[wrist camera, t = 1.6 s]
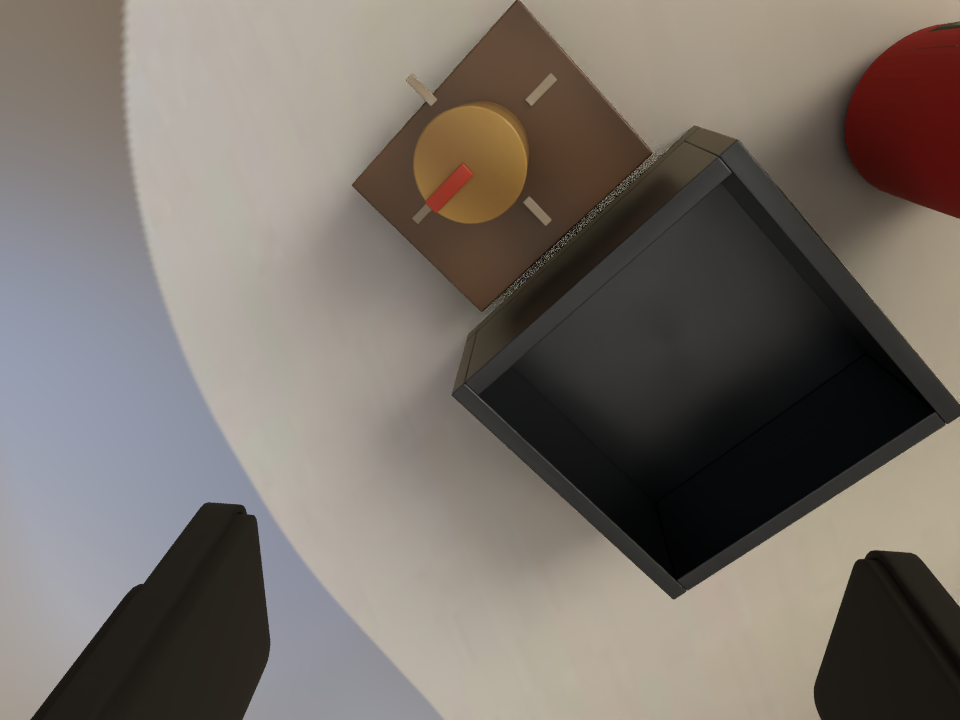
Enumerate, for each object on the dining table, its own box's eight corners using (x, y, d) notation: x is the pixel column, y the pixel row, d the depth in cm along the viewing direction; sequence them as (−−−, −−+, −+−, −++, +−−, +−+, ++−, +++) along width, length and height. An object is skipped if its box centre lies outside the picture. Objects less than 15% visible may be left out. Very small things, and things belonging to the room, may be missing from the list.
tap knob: (480, 78, 27) (467, 78, 22) (549, 152, 28) (551, 168, 23) (414, 151, 28) (387, 167, 23) (481, 220, 29) (469, 249, 24)
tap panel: (501, -17, 28) (497, -26, 25) (645, 147, 30) (654, 153, 27) (347, 160, 31) (330, 167, 29) (485, 296, 33) (481, 313, 31)
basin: (694, 125, 29) (738, 138, 23) (882, 345, 32) (966, 412, 26) (467, 334, 34) (450, 395, 27) (650, 509, 37) (673, 600, 31)
